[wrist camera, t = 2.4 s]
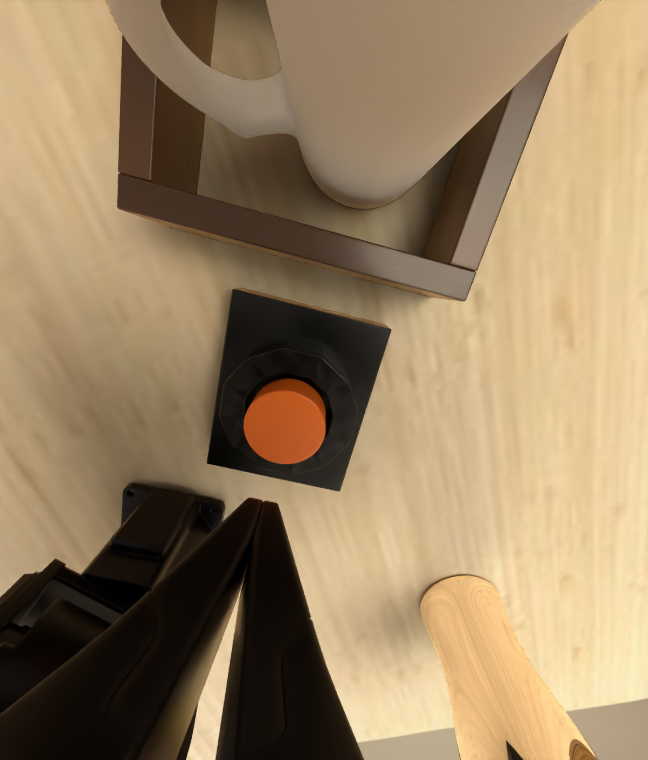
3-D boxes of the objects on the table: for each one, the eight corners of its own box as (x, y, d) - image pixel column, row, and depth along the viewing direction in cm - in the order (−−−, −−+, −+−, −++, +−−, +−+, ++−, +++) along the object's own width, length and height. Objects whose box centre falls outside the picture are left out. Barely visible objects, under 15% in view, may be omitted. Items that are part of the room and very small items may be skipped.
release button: (315, 451, 15) (314, 472, 14) (246, 436, 15) (237, 455, 13) (333, 387, 14) (334, 401, 13) (259, 370, 14) (250, 381, 12)
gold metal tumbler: (421, 567, 22) (602, 1098, 8) (515, 572, 22) (865, 1103, 8) (407, 632, 24) (528, 1143, 10) (492, 636, 24) (734, 1145, 10)
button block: (338, 474, 19) (341, 514, 16) (216, 448, 19) (193, 483, 16) (385, 324, 16) (400, 335, 13) (241, 287, 16) (219, 289, 13)
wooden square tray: (432, 297, 16) (465, 302, 12) (169, 227, 15) (115, 208, 11) (523, 37, 13) (608, -69, 9) (193, -76, 12) (130, -249, 8)
